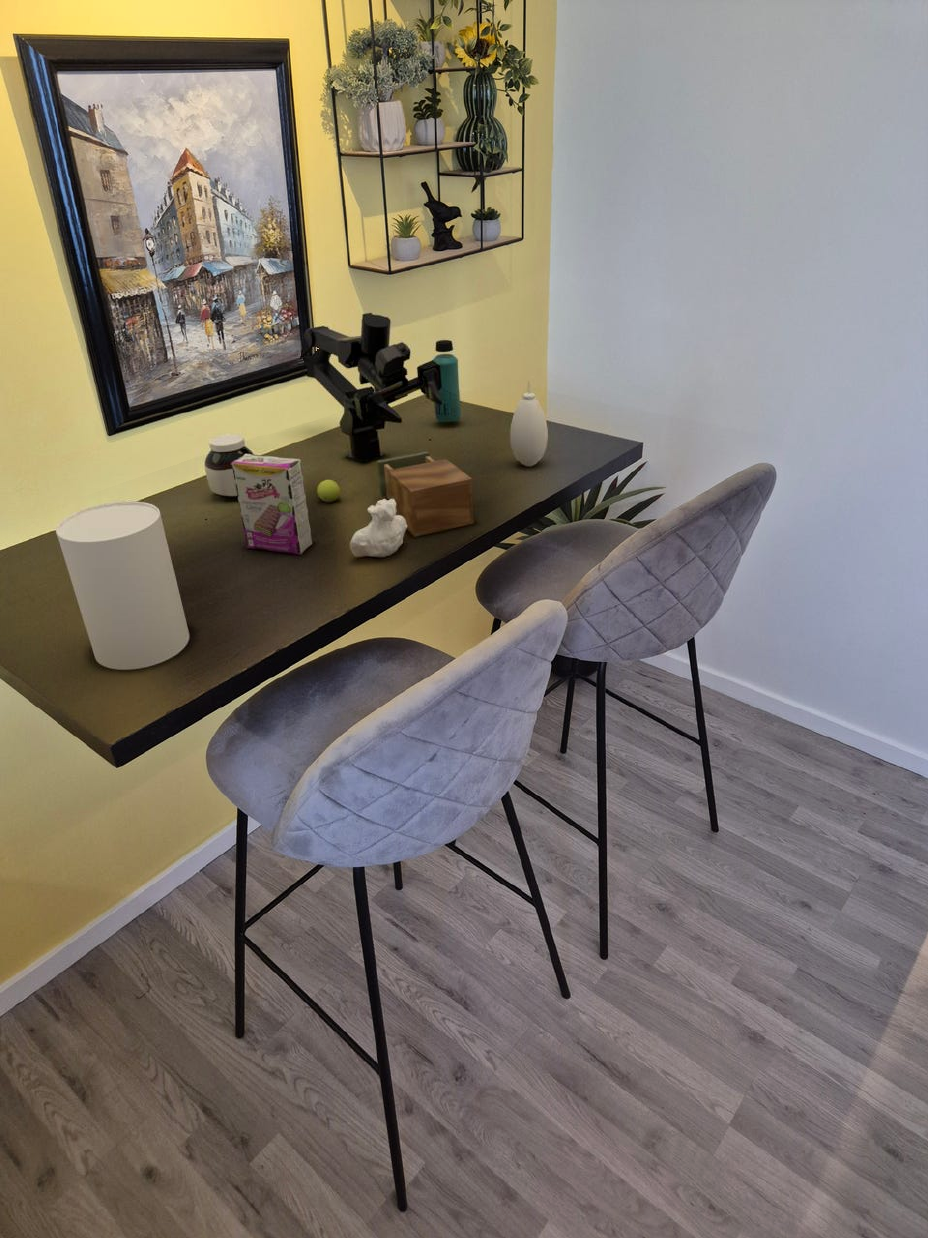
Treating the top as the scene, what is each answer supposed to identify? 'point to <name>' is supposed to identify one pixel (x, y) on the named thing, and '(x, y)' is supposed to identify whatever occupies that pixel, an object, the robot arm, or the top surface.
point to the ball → (328, 490)
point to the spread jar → (224, 464)
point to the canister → (124, 583)
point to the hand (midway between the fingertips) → (421, 411)
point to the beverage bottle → (448, 384)
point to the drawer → (395, 464)
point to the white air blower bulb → (528, 430)
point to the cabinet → (432, 496)
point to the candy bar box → (272, 503)
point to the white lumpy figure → (380, 531)
